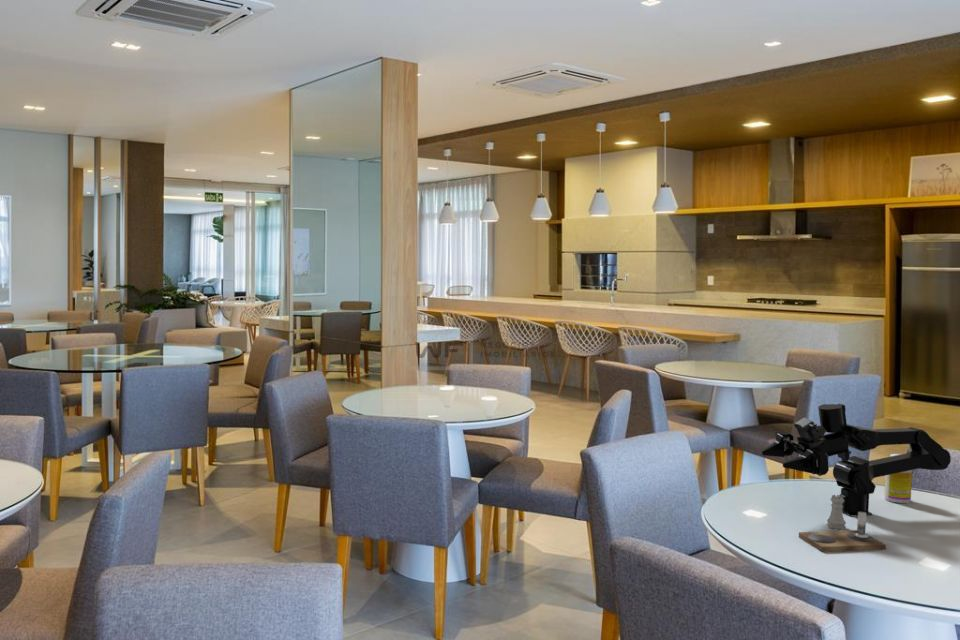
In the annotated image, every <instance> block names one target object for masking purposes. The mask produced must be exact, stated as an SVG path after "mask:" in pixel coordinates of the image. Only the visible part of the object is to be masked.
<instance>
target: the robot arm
mask: <svg viewBox="0 0 960 640" xmlns="http://www.w3.org/2000/svg"><path fill="white" fill-rule="evenodd" d="M817 408H818V417H819V425H817V423H816V422H814V421H813V420H811V419H808V418H806V417H804V416H803V418H801V419H800V420H798V421H796V422H794V425H793V426H794V428H796V431H797V432H798V436H796V439H797V442H796V441H795V440H794V435H792V434H791V433H790V432H787V431H785V430H784V429H781V430H776V431H775V441H774V442H772V443H771V444H770V445H769V446H767V447H766V448H764V449H763V450H761V455H762V456H767V457H777V458H778V457H779V458H785V457H789V456H792V455H793V454H794V453H796V454H798V457H795V458H792V459H788V460H787V461H784V462H783V463H782V467H783V468H784V469H790V470H795V471H799V472H803V473H807V474H812V475H817V476H819V477H821V476H825V475H827V474H828V472H829V471H830V468H829V467H830V466H829V457H833V456H836V455H837V457H838V458H840V459H841V460H839V461H837V462H836V463H835V464H834V466H833V469H832V475H833V478H834V480H835V481H836V486H837V487H840V493H839V494H838V495H839V497H840V496H842V497H843V499H844V502H843V503H842V506H843V508H842V513H843V514H846V515H848V516H851V517H853V516H855V517H858V512H859V511H862V512H866V516H872V515H873V513H872V512H870V511H869V507H870V504H869V503H870V495H872V494H874V493H875V491H876V488H877V487H876V485H875V483H874V482H873V480H874V479H875V478H881V477H884V476H886V475H891V474H895V473H900V472H905V471H910V470H912V471H913V470H919V469H920V470H929V471H930V470H931V471H944V470H946V469H947V468H949V465H950V464H951V460H952V458H951V457H952V456H951V454H950V452H949V451H948V450H947V449H945V448H944V447H943V446H942V445H941V444H939V442H937V441H936V440H934V439H933V438H932V437H931V436H930V435H929V434H928V432H926V430H924V429H921V428H916V427H912V426H911V427H906V428H905V427H902V428H900V427H899V428H878V429H877V428H875V429H874V428H867V427H862V426H857V425H856V426H855V425H851V424H849V423H848V424H847V415H846V405H845V404H842V403H838V404H835V403H834V404H833V403H832V404H831V403H830V404H825V403H824V404H823V403H822V404H820V405H818V407H817ZM893 445H894V446H895V445H908V446H909V449H910V451H909V452H907V453H902V454H901V453H900V454H901V455H896V456H891V457H890V456H888V457H881V458H877V459H872V460H867V459H864V458H861V457H859V456H855V455H853V456H850V455H851V454H852V451H850V449H849V448H851V449H855V450H857V451H860V452H861V451H862V452H867V451H870V450H874V449H876V448H877V447H879V446H893Z"/></svg>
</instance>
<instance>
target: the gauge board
mask: <svg viewBox="0 0 960 640" xmlns="http://www.w3.org/2000/svg"><path fill="white" fill-rule="evenodd" d="M854 532H857V529H856V530H829V531H828V530H826V531H825V530H824V531H823V530H822V531H803V532H802V531H801V532H798V538H799V539H801V540H803V541H804V542H806V543H807V544H809V545H810V546H811V547H813V548H814V549H816V550H818V551H820V552H821V553H829V552H856V551H857V552H858V551H875V550H876V551H878V550H881V551H882V550H886V548H887V547H886V546H887V544H886V543H884V542H883V541H880V540H879V539H877V538H875V537H874V536H872V535H870V534H868V535H869V536H868V539H858V538H855V537H854Z"/></svg>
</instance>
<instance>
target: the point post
mask: <svg viewBox="0 0 960 640" xmlns="http://www.w3.org/2000/svg"><path fill="white" fill-rule="evenodd" d="M856 521H857V523H856V525H857V527H856V530H857V532H854V537H855V538H858V539H868V536H869V535H870V534H868V533H867V532H866V530H867V529H866V527H867V526H866V525H867V523H866V522H867V515H866V512H862V511H859V512H858V516H857V520H856Z"/></svg>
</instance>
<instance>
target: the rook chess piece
mask: <svg viewBox="0 0 960 640" xmlns="http://www.w3.org/2000/svg"><path fill="white" fill-rule="evenodd" d="M839 495H840V494H837V495H836V494H833V495H831V498H830V502H831V504H830V507H831V509H830V510H831V511H830V515H829V517H828V518H827V520H826V522H827V523H826V526H827V528H829V529H831V528H832V530H835V529H838V530H837V531H843V530H844V529H846V527H847V526H846V522H847V521H846V520H845V517H844V516H843V514H844V513H843V512H842V508H843V506H842V503H843V502H844V499H843V497H842V496H840V497H839ZM842 529H843V530H842Z"/></svg>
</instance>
